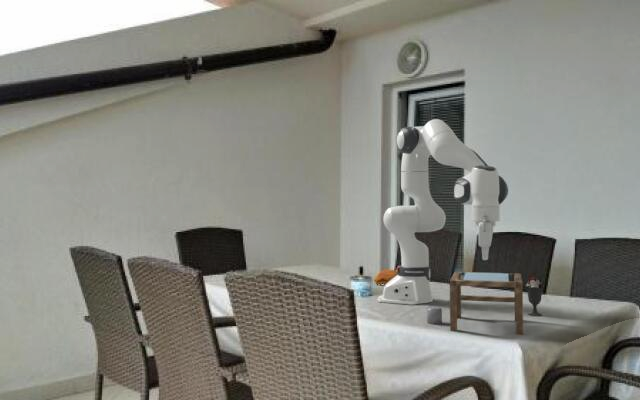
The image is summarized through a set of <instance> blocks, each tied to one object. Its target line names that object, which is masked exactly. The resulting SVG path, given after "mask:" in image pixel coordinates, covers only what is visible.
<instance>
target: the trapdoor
mask: <svg viewBox="0 0 640 400" xmlns="http://www.w3.org/2000/svg"><path fill="white" fill-rule="evenodd" d="M509 277H510V276H509V273H504V272H478V271H477V272H476V271H473V272H467V271H466V272H464V275H463V279H462V280H478V281H510V279H509Z"/></svg>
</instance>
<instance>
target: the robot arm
mask: <svg viewBox="0 0 640 400" xmlns="http://www.w3.org/2000/svg"><path fill="white" fill-rule="evenodd" d="M396 146H397V149H398V150H399V152H401V153H402V157H401V167H400V187H401V188H400V189H401V192H402V193H403V194H405V196H406V197H407V196H408V198H409V197H410V198H411V199H413V202H414V205H397V206H396V205H395V206H391V207H388V208H387V209H386V210H385V212H384V214H383V220H382V221H383V224H384V227H385V228H386V230H387V231H388V232H390V233H391V234H392V235H393V236H394V237H395V238H396V240H397V242H398V245H399V249H400V257H401V258H400V260H401V265H398V266H397V267H396V270H397V274H398V275H397V276H395V277H394V278H393V279H391V280H390V281H389V282H388V283H387V284H386V285H385V286H384V287H383V291H382V295H379V296H378V297H377V302H378V303H389V304H397V305H398V304H400V305H402V304H403V305H419V304H428V303H432V302H433V301H434V298H433V295H432V289H431V284H430V280H431V267H430V261H429V257H430V256H429V255H430V253H429V252H430V251H429V247H428V246H427V245H426V243H424V242H422V241H420V240H418V239H417V237H416V235H415V233H432V232H436V231H440V230H441V229H443V228H444V226H445V224H446V219H447V217H446V213H445V211H444V209H443V208H442V207H441V206H439V205H438V204H437V203H436V202H435V200H434V199H433V196H432V194H431V192H430V191H431V190H430V182H429V180H430V179H429V158H430V157H431V156H432V158H433V159H434V160H435V161H436V162H437V163H439V164H441V165H443V166H450V167H454V168H460V169H464V170H466V171H467V172H468V171H469V173H468V174H466V175H464V176H462V177H459V178H458V179H456V181H455V182H454V184H453V188H452V189H453V197H454V199H455V200H456V201H457V202H458V204H460V205H466V206H467V205H468V206H470V205H471V206H470V207H471V208H470V211H471V212H470V214H471V215H470V216H471V217H470V218H471V219H470V220H471V222H474V223H475V227H478V247H480V248H481V255H482V256H481V259H482V260H483V261H487V260H489V255H490V247H491V245H492V241H493V233H494V227H496V226H497V225H496V223H497V222H499V221H500V214H501V213H500V205H501V204H503V203H504V201H505V200H506V198H507V197H508V194H509V186H508V183H507V182H506V181H505V179H504V178H503V177H502V176H501V175H499V173H498V169H497V168H496V167H494V166H491V165H488V164H487V163H486V162H485V160H484V159H483V158H482V156H480V155H479V154H478V153H477V152H475V150H473V149H471V148H470V147H468V145H466V144H464V143H463V142H462V141H461V140H460V139H459V138H458V137H457V135H456V134H455V133H454V130H453V129H451V127H450V126H449V125H448V124H447V123H446V122H445V121H444V120H442V119H438V118H436V119H435V118H434V119H431V120H428V121H427V122H426V124H424V125H422V126H421V125H419V126H405V127H403V128H400V129H399V131H398V132H397V134H396Z"/></svg>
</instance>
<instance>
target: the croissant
mask: <svg viewBox="0 0 640 400" xmlns="http://www.w3.org/2000/svg"><path fill="white" fill-rule="evenodd" d="M397 275H398V274H397V269H383V270H381V271H380V272H379V273H376V275H375V276H374V283H375V282H376V283H375V284H384V285H386V284H387V283H388V282H389V281H390V280H391V279H393V278H394V277H395V276H397Z"/></svg>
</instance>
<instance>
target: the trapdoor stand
mask: <svg viewBox="0 0 640 400" xmlns="http://www.w3.org/2000/svg"><path fill="white" fill-rule="evenodd" d="M462 276H465V272H462V271H454V272H453V274H452V276H451V277H450V280H449V318H450V319H449V322H450V324H449V327H450V329H449V330H450V331H451V332H453V331H455V332H457V331H458V319H461V318H462V301H463V302H464V301H468V302H491V303H492V302H493V303H494V302H495V303H496V302H497V303H514V321H515V334H516V335H524V317H523V316H524V309H523V308H524V303H523V302H524V301H523V300H524V298H523V297H524V296H523V293H524V291H523V290H524V289H523V285H524V284H523V283H524V282H523V279H522V274H521V273H517V272H514V273H509V277H514V278H513V281H510V280H509V281H478V280H463V279H462ZM463 286H464V287H467V286H468V287H488V288H491V287H494V288H495V287H496V288H497V287H498V288H514V295H513V296H496V295H495V296H493V295H492V296H491V295H466V294H465V295H464V294H462V287H463Z"/></svg>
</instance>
